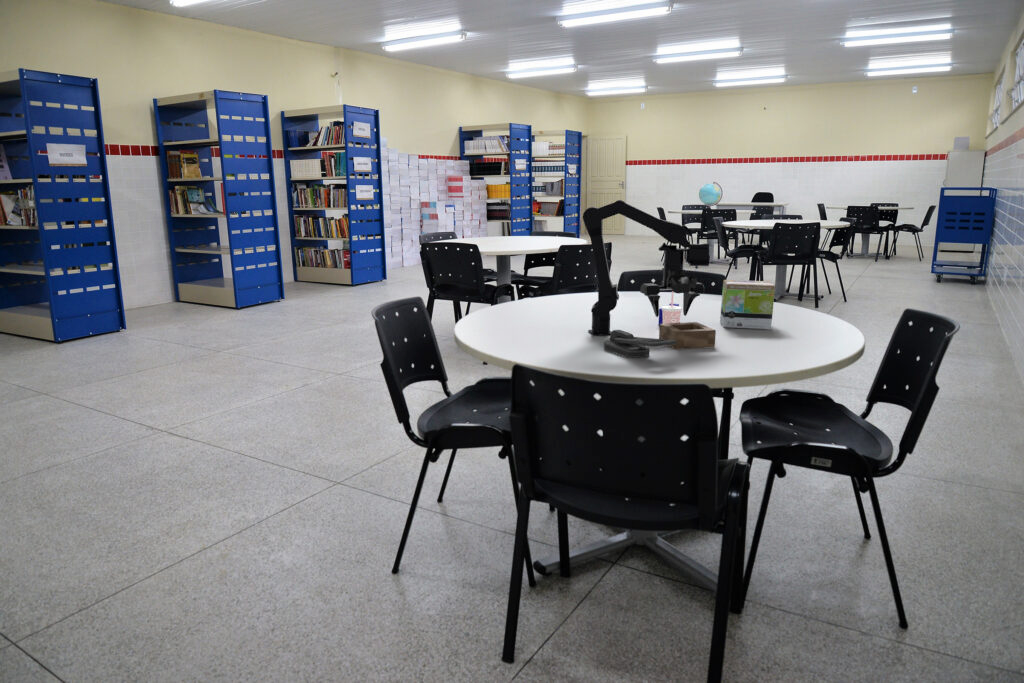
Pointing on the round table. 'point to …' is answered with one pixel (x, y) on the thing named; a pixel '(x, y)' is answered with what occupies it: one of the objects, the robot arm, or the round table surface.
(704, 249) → the robot arm
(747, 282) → the tea box
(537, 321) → the round table surface
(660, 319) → the blue piece
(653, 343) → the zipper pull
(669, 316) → the beverage cup
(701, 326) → the walnut well block
